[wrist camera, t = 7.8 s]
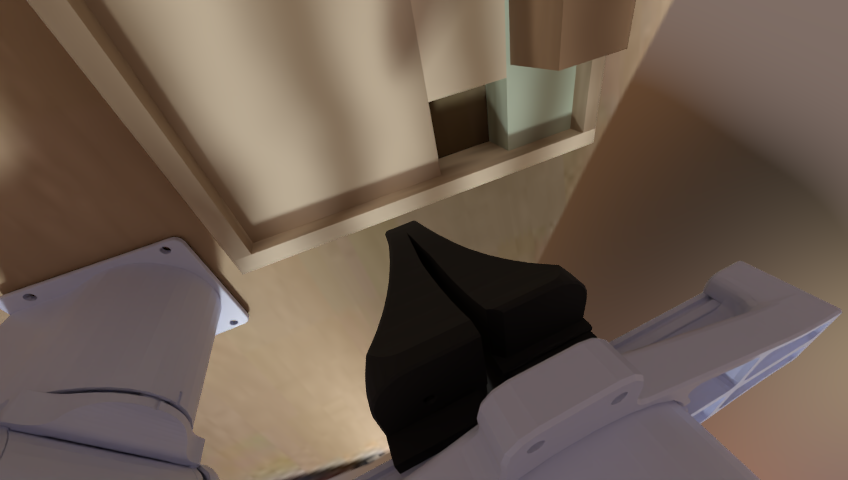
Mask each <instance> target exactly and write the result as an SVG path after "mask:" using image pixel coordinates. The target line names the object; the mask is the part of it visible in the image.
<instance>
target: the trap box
mask: <svg viewBox="0 0 848 480" xmlns="http://www.w3.org/2000/svg"><path fill="white" fill-rule="evenodd" d="M26 1H27V2H28V3H29V4H30V6H31V7H32V8H33V10H34V11H35V12H36V13H37V15H38V16H39V17H40V18H41V20H42V21H43V22H44V23H45V25H46V26H47V27H48V28H49V30H50V31H51V32H52V34H53V35H54V36H55V37H56V39H57V40H58V41H59V42H60V44H61V45H62V46H63V47H64V49H65V50H66V51H67V53H68V54H69V55H70V56H71V58H72V59H73V60H74V61H75V63H76V64H77V65H78V66H79V68H80V69H81V70H82V72H83V73H84V74H85V75H86V77H87V78H88V79H89V80H90V82H91V83H92V84H93V85H94V87H95V88H96V89H97V91H98V92H99V93H100V94H101V96H102V97H103V98H104V99H105V101H106V102H107V103H108V104H109V106H110V107H111V108H112V109H113V111H114V112H115V113H116V115H117V116H118V117H119V118H120V120H121V121H122V122H123V123H124V125H125V126H126V127H127V128H128V130H129V131H130V132H131V134H132V135H133V136H134V137H135V139H136V140H137V141H138V142H139V144H140V145H141V146H142V147H143V149H144V150H145V151H146V153H147V154H148V155H149V156H150V158H151V159H152V160H153V161H154V163H155V164H156V165H157V166H158V168H159V169H160V170H161V172H162V173H163V174H164V175H165V177H166V178H167V179H168V180H169V182H170V183H171V184H172V185H173V187H174V188H175V189H176V190H177V192H178V193H179V194H180V196H181V197H182V198H183V199H184V201H185V202H186V203H187V204H188V206H189V207H190V208H191V209H192V211H193V212H194V213H195V215H196V216H197V217H198V218H199V220H200V221H201V222H202V223H203V225H204V226H205V227H206V228H207V230H208V231H209V232H210V234H211V235H212V236H213V237H214V239H215V240H216V241H217V242H218V244H219V245H220V246H221V247H222V249H223V250H224V251H225V252H226V254H227V255H228V256H229V258H230V259H231V260H232V261H233V263H234V264H235V265H236V266H237V268H238V269H239V270H240V271H241V273H242V274H245V273H248V272H251V271H253V270H256V269H259V268H261V267H264V266H267V265H269V264H272V263H275V262H277V261H280V260H283V259H285V258H288V257H291V256H293V255H296V254H299V253H301V252H304V251H307V250H309V249H312V248H315V247H317V246H320V245H322V244H325V243H328V242H330V241H333V240H336V239H338V238H341V237H344V236H346V235H349V234H352V233H354V232H357V231H360V230H362V229H365V228H368V227H370V226H373V225H376V224H378V223H381V222H384V221H386V220H389V219H392V218H394V217H397V216H400V215H402V214H405V213H408V212H410V211H413V210H416V209H418V208H421V207H424V206H426V205H429V204H431V203H434V202H437V201H439V200H442V199H445V198H447V197H450V196H453V195H455V194H458V193H461V192H463V191H466V190H469V189H471V188H474V187H477V186H479V185H482V184H485V183H487V182H490V181H493V180H495V179H498V178H501V177H503V176H506V175H509V174H511V173H514V172H517V171H519V170H522V169H525V168H527V167H530V166H533V165H535V164H538V163H540V162H543V161H546V160H548V159H551V158H554V157H556V156H559V155H562V154H564V153H567V152H570V151H572V150H575V149H578V148H580V147H583V146H586V145H588V144H591V143H593V141H594V134H595V128H596V121H597V114H598V108H599V101H600V94H601V88H602V81H603V74H604V68H605V61H606V56H603V57H600V58H597V59H594V60H591V61H588V62H585V63H582V64H579V65H575V66H572V67H569V68H566V69H563V70H560V71H556V70H548V69H540V68H532V67H523V66H515V65H510V32H509V0H26ZM482 85H486V100H487V115H488V131H489V141H488V142H485V143H482V144H479V145H476V146H474V147H471V148H468V149H465V150H462V151H459V152H456V153H454V154H451V155H448V156H445V157H442V158H439V159H438V154H437V148H436V142H435V137H434V131H433V125H432V120H431V114H430V108H429V103H428V102H431V101H434V100H437V99H440V98H443V97H447V96H450V95H453V94H456V93H459V92H463V91H466V90H469V89H472V88H475V87H479V86H482Z"/></svg>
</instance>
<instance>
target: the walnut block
mask: <svg viewBox="0 0 848 480" xmlns="http://www.w3.org/2000/svg"><path fill="white" fill-rule="evenodd" d="M635 2H636V0H509V32H510V65H515V66H523V67H532V68H540V69H548V70H556V71H560V70H563V69H566V68H569V67H572V66H575V65H579V64H582V63H585V62H588V61H591V60H594V59H597V58H600V57H603V56H606V55H609V54H612V53H615V52H618V51H621V50H624V49H627V47H628V41H629V36H630V30H631V25H632V19H633V13H634V8H635Z"/></svg>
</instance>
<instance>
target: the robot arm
mask: <svg viewBox="0 0 848 480" xmlns="http://www.w3.org/2000/svg"><path fill="white" fill-rule="evenodd" d="M385 235H386V238H387V241H388V244H389V252H390V273H389V284H388V291H387V297H386V301H385V306H384V310H383V313H382V317H381V320H380V323H379V326H378V329H377V332H376V334H375V337H374V339H373V341H372V343H371V346H370V348H369V350H368V353H367V355H366V369H365V382H366V393H367V399H368V403H369V407H370V411H371V414H372V416H373V418H374V419H375V421H376V422H377V424H378V425H379V426H380V428H381V429H382V431H383V432H384V433H385V435H386V437H387V441H388V445H389V449H390V452H391V456H392V459H391V460H389V461H387V462H385V463H383V464H381V465H379V466H377V467H376V468H374V469H372V470H370V471H368V472H366V473H364V474H363V475H361V476H359V477H357V478H355V479H353V480H760V479H759V478H758V477H757V476H756V475H755V474H754V473H753V472H752V471H751V470H749V469H748V468H747V467H746V466H745V465H744V464H743V463H742V462H741V461H740V460H739V459H737V458H736V457H735V456H734V455H733V454H732V453H731V452H730V451H729V450H728V449H727V448H725V446H723V445H722V444H721V443H720V442H719V441H718V440H717V439H716V438H715V437H714V436H713V435H712V434H710V433H709V432H708V431H707V430H706V429H705V428H704V427H703V426H702V425H701V423H702V422H704V421H705V420H706V419H708V418H709V417H711V416H712V415H713V414H715V413H716V412H718V411H719V410H720V409H722V408H723V407H725V406H726V405H728V404H729V403H730V402H732V401H733V400H734V399H736V398H737V397H739V396H740V395H742V394H743V393H744V392H746V391H747V390H749V389H750V388H752V387H753V386H755V385H756V384H758V383H759V382H760V381H762V380H763V379H765V378H766V377H768V376H769V375H771V374H772V373H774V372H775V371H777V370H779V369H780V368H782V367H783V366H785V365H786V364H788V363H789V362H791V361H792V360H794V359H795V358H796V357H797V356H798V355H799V354H800V353H801V352H802V351H803V350H804V349H805V348H806V347H808V345H809V344H811V342H813V341H814V340H815V339H816V338H817V337H818V336H819V335H820V334H821V333H822V332H823V331H824V330H825V329H826V328H827V327H828V326H829V325H830V324H831V323H832V322H833V321H834V320H835V319H836V318H837V317H838V316H839V315H840V314H841V313H842V311H841V309H840V308H838V307H836V306H834V305H831V304H830V303H828V302H826V301H823V300H821V299H819V298H817V297H815V296H813V295H811V294H809V293H807V292H805V291H803V290H801V289H799V288H797V287H794V286H792V285H790V284H788V283H786V282H784V281H782V280H780V279H778V278H776V277H774V276H772V275H770V274H768V273H766V272H764V271H762V270H759V269H757V268H755V267H753V266H751V265H749V264H747V263H745V262H743V261H738V262H736V263H734V264H732V265H730V266H728V267H726V268H724V269H722V270H720V271H718V272H717V273H716V274H714V275H713V276H712V277H711V278H710V279H709V280H708V281H707V283H706V285H705V287H704V290H703V292H702V293H700V294H699V295H697V296H695V297H693V298H691V299H689V300H688V301H685V302H684V303H682V304H680V305H678V306H676V307H674V308H672V309H671V310H669V311H667V312H665V313H663V314H661V315H659V316H657V317H656V318H654V319H652V320H650V321H648V322H646V323H644V324H643V325H641V326H639V327H637V328H635V329H633V330H631V331H630V332H628V333H626V334H624V335H622V336H620V337H618V338H617V339H615V340H613V341H611V342H607V341H606V340H603V339H599V338H597V337H596V336H595V335H594V334H593V333H592V332H591V330H592V327H591V325H590V324H589V323H588V322H587V321H586V320H585V319H584V318H583V315H584V310H585V305H586V298H587V290H586V288H585V286H584V285H583V284H582V283H581V282H580V281H579V280H577V279H576V278H575V277H574V276H573V275H572V274H570V273H569V272H568V271H566V270H565V269H563V268H562V267H561V266H559V265H549V264H536V263H527V262H520V261H513V260H508V259H503V258H499V257H494V256H490V255H487V254H483V253H480V252H477V251H474V250H471V249H468V248H465V247H463V246H461V245H458V244H456V243H454V242H452V241H450V240H448V239H446V238H444V237H442V236H440V235H438V234H436V233H434V232H433V231H431V230H429V229H428V228H426V227H424V226H423V225H421V224H419V223H418V222H416V221H411V222H409V223H406V224H404V225H401V226H399V227H396V228H394V229H391V230H389V231H387V232H386V234H385ZM162 247H168V248H170V249H171V250H164V249H163V248H162ZM29 294H33V295H35V296H31V295H29ZM0 309H2V310H3V311H5V312H6V313H8V314H10V316H9V317H8V318H7V319H6V320H5V321H4V322H3V323H2V324H1V325H0V480H219V477H218V475H217V474H216V472H215V471H214V470H213V469H212V468H210V467H208V466H206V465H202V464H200V462H201V457H202V452H203V447H204V442H205V439H204V438H201V437H198V436H197V435H195V434H194V433H193V431H192V429H193V425H194V421H195V416H196V412H197V408H198V404H199V400H200V396H201V392H202V387H203V383H204V379H205V375H206V371H207V367H208V363H209V358H210V354H211V350H212V346H213V342H214V338H215V335H217V334H220V333H222V332H225V331H227V330H230V329H232V328H235V327H237V326H240V325H242V324H244V323H246V322H247V321H248V319H249V314H248V313H247V312H246V311H245V310H244V308H243V307H242V306H241V305H240V304H239V303H238V301H237V300H236V299H235V298H234V297H233V296H232V295H231V293H230V292H229V291H228V290H227V289H226V288H225V287H224V285H223V284H222V283H221V282H220V281H219V280H218V279H217V277H216V276H215V275H214V274H213V273H212V272H211V271H210V269H209V268H208V267H207V266H206V265H205V264H204V263H203V261H202V260H201V259H200V258H199V257H198V256H197V254H196V253H195V252H194V251H193V250H192V249H191V248H190V246H189V245H188V244H187V243H186V242H185V241H184V240H183V239H181V238H178V237H171V238H168V239H165V240H162V241H159V242H156V243H153V244H150V245H147V246H145V247H142V248H139V249H136V250H133V251H130V252H127V253H124V254H121V255H118V256H115V257H112V258H109V259H107V260H104V261H101V262H98V263H95V264H92V265H89V266H86V267H83V268H80V269H77V270H74V271H71V272H69V273H66V274H63V275H60V276H57V277H54V278H51V279H48V280H45V281H42V282H39V283H36V284H33V285H30V286H28V287H25V288H22V289H19V290H16V291H13V292H10V293H7V294H4V295H2V296H1V297H0ZM231 320H236V321H231Z"/></svg>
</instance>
